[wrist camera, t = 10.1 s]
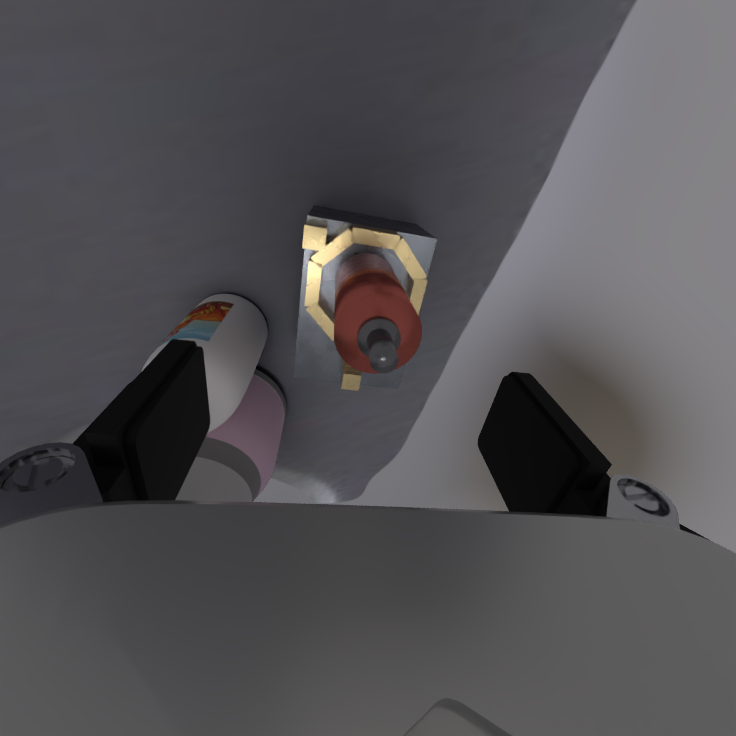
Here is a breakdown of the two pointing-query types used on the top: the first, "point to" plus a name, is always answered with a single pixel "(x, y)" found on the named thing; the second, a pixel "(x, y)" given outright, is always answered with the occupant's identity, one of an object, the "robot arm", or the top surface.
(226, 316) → the milk bottle
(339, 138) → the top surface
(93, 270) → the top surface
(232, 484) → the blender
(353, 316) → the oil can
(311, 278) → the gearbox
